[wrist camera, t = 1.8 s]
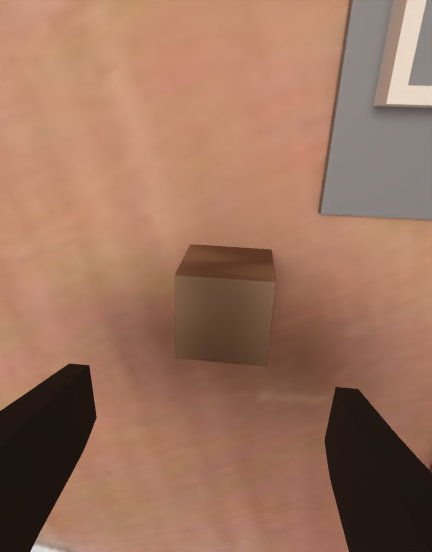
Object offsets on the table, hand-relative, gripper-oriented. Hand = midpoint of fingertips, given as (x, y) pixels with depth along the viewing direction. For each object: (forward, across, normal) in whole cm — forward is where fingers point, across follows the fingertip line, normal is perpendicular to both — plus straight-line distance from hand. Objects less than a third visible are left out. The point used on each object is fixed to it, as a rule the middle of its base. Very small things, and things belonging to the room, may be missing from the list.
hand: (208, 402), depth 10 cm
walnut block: (+9, 0, 0) cm, 9 cm away
